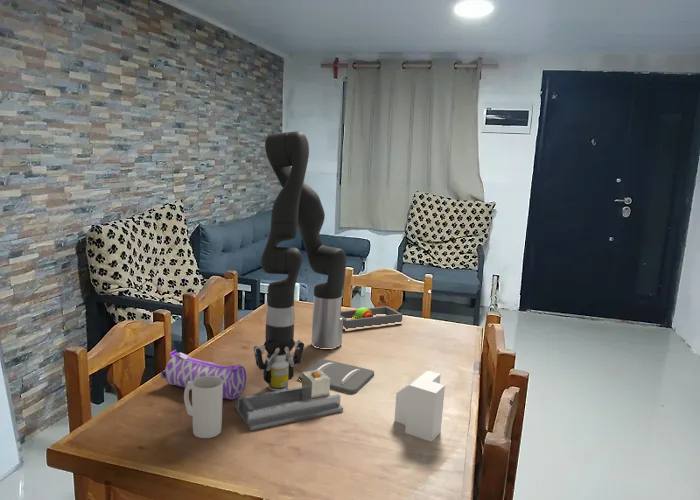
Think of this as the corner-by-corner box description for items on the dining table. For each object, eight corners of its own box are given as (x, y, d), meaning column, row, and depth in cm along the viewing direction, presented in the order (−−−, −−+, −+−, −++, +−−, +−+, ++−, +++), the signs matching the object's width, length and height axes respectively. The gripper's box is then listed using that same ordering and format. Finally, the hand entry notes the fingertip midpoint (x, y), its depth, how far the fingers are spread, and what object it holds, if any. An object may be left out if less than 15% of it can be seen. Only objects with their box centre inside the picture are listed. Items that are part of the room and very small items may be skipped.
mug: (228, 429, 125) (229, 380, 123) (209, 442, 119) (209, 391, 117) (194, 417, 130) (194, 370, 127) (174, 430, 124) (173, 380, 121)
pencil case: (159, 388, 144) (159, 354, 142) (182, 375, 152) (182, 343, 151) (230, 407, 136) (231, 371, 134) (250, 392, 145) (251, 358, 143)
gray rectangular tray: (386, 315, 216) (387, 306, 216) (401, 324, 207) (402, 314, 206) (332, 322, 205) (333, 312, 204) (346, 331, 195) (346, 320, 195)
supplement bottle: (268, 382, 150) (269, 349, 149) (288, 383, 151) (289, 349, 149) (267, 391, 145) (268, 357, 143) (287, 391, 146) (289, 357, 144)
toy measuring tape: (345, 325, 203) (346, 308, 201) (381, 316, 216) (382, 300, 215) (357, 330, 198) (358, 312, 197) (393, 320, 211) (394, 304, 210)
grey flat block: (296, 371, 153) (322, 353, 167) (296, 381, 153) (321, 363, 167) (354, 385, 146) (376, 365, 159) (353, 396, 146) (375, 376, 160)
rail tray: (322, 391, 147) (323, 361, 145) (343, 411, 136) (344, 379, 135) (235, 408, 135) (235, 375, 134) (250, 430, 125) (251, 396, 123)
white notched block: (431, 441, 125) (435, 393, 122) (387, 426, 130) (391, 379, 128) (449, 423, 134) (453, 377, 131) (407, 409, 139) (411, 365, 137)
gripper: (299, 314, 151) (297, 371, 154) (249, 319, 144) (248, 379, 147) (310, 322, 145) (308, 381, 148) (258, 328, 138) (257, 390, 141)
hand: (278, 380), depth 148 cm, fingers closed on supplement bottle, 5 cm apart
